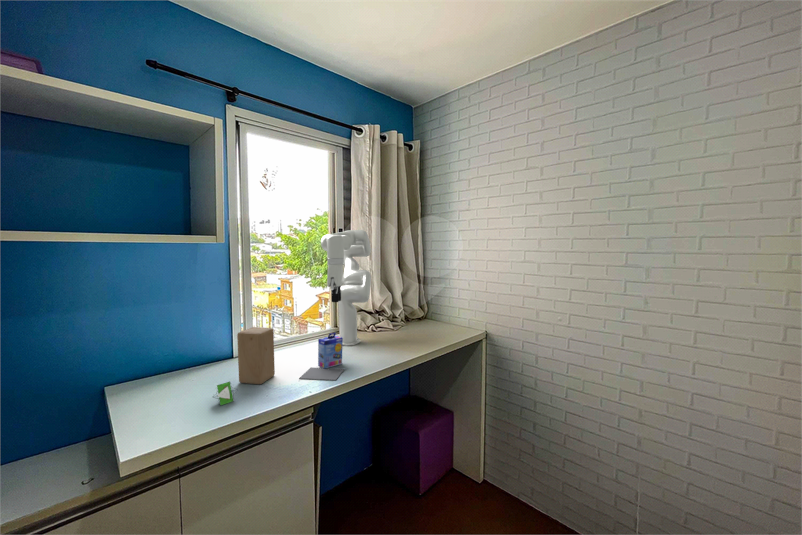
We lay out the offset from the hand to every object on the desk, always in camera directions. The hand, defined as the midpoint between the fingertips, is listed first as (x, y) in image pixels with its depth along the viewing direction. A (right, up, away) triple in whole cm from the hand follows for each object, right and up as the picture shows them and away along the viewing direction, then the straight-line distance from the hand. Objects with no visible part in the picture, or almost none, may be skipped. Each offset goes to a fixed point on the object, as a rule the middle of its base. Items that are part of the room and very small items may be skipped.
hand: (336, 301), depth 158 cm
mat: (-2, -28, -18) cm, 34 cm away
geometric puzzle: (-29, -30, -43) cm, 60 cm away
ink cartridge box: (-1, -28, -8) cm, 29 cm away
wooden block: (-27, -29, -23) cm, 46 cm away
